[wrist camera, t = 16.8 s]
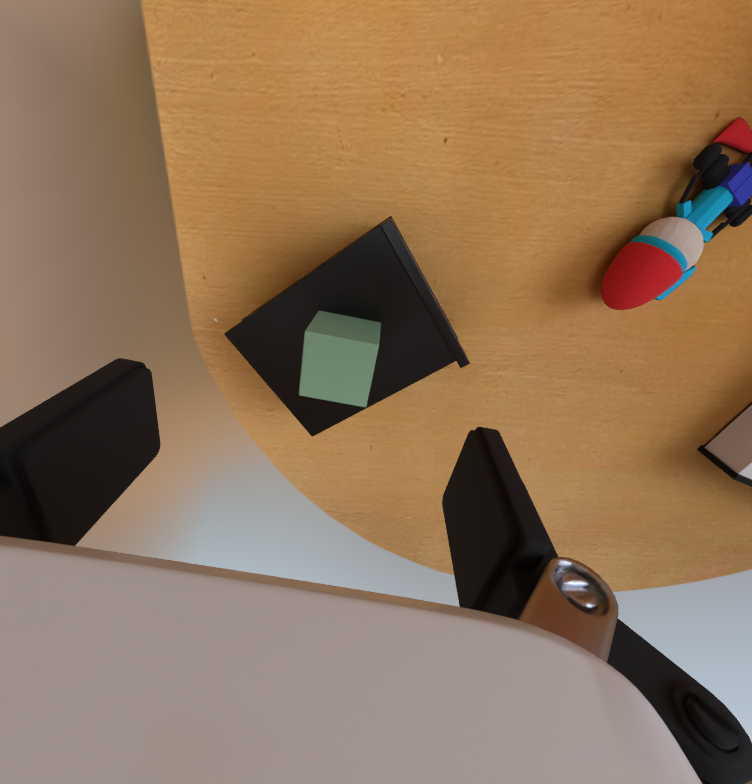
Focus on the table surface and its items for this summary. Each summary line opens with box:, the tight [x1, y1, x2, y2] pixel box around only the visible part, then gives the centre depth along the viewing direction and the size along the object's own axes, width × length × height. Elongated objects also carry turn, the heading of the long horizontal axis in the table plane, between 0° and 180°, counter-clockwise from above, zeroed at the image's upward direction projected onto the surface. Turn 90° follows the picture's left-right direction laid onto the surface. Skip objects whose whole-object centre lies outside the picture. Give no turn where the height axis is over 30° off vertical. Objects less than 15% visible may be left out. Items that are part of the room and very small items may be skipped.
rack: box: [225, 216, 470, 436], centre depth 31 cm, size 16×12×8 cm
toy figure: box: [601, 117, 752, 310], centre depth 28 cm, size 8×5×15 cm
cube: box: [299, 311, 381, 407], centre depth 27 cm, size 5×5×5 cm
